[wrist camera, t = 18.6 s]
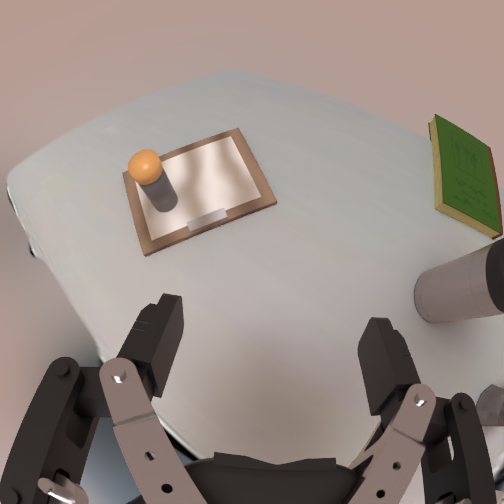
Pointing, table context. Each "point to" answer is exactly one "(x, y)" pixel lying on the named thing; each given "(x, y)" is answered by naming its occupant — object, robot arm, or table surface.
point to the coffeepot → (491, 406)
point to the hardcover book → (465, 178)
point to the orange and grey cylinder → (153, 179)
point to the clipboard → (201, 191)
